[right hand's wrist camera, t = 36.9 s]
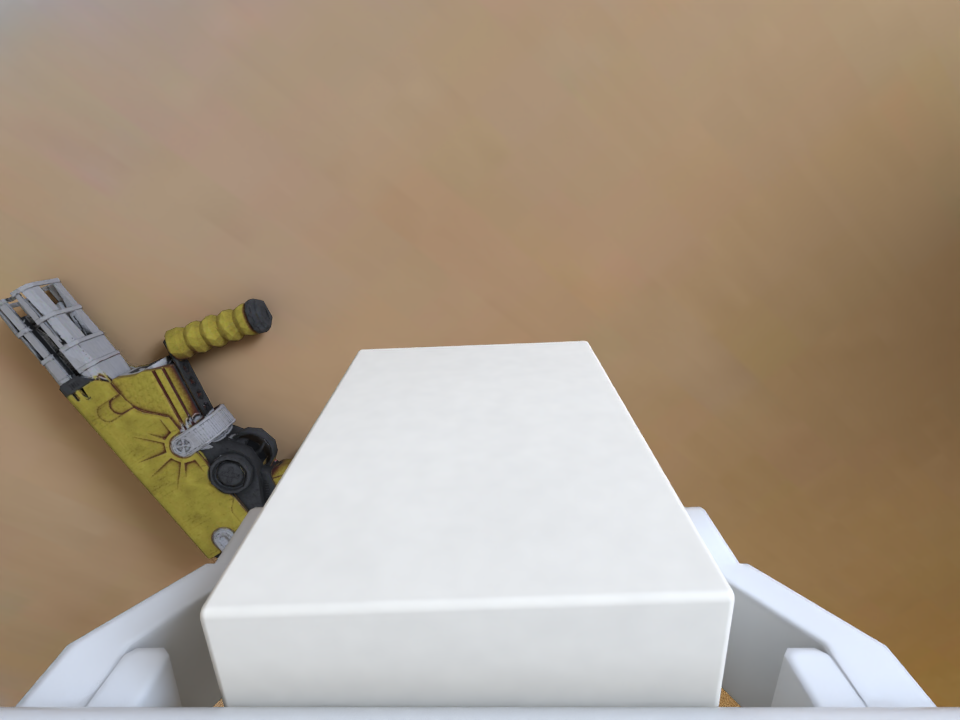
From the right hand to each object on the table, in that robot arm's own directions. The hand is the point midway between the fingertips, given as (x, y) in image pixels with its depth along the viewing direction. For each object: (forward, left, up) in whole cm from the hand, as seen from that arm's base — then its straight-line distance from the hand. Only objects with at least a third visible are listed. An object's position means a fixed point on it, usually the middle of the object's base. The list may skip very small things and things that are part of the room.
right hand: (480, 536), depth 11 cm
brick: (0, 0, -4) cm, 4 cm away
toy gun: (+14, -17, -31) cm, 38 cm away
